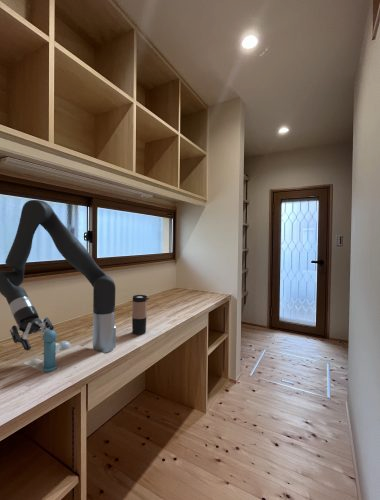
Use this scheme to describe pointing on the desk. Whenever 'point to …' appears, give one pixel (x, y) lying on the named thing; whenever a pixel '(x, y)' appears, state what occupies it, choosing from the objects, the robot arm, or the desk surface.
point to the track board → (38, 366)
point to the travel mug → (139, 314)
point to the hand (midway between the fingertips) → (40, 345)
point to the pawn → (49, 351)
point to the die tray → (62, 345)
